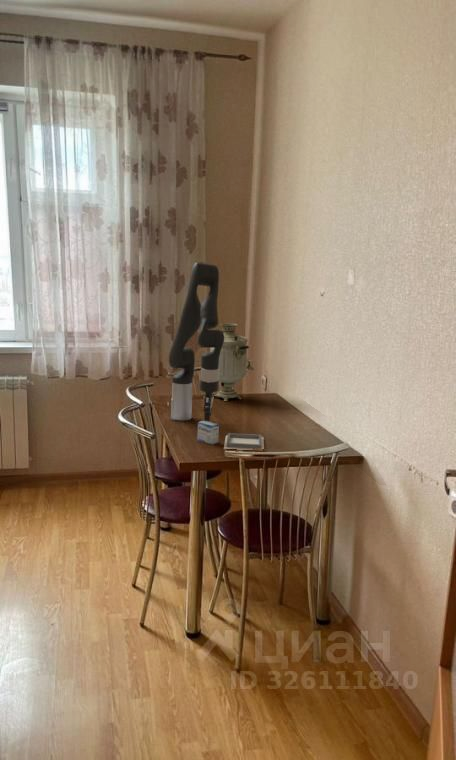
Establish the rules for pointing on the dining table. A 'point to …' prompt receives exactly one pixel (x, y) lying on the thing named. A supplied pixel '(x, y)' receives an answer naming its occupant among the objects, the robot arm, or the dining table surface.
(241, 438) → the board
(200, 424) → the medicine box
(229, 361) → the samovar
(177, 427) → the dining table surface
